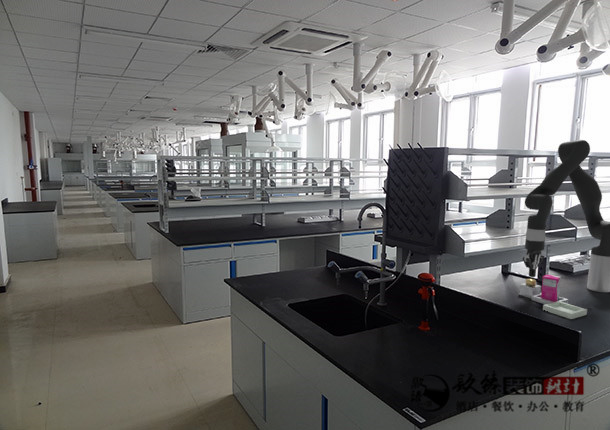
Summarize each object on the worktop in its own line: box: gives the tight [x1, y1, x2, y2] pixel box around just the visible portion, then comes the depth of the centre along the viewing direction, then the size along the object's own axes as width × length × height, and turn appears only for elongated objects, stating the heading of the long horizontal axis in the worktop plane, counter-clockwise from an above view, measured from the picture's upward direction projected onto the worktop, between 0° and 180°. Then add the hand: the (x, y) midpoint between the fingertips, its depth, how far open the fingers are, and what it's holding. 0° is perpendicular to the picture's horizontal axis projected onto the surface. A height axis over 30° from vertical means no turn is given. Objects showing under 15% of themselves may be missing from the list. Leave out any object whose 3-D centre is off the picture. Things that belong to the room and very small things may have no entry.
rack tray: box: [542, 301, 588, 320], centre depth 162 cm, size 11×11×2 cm
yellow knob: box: [525, 278, 537, 286], centre depth 181 cm, size 4×4×6 cm
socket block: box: [518, 282, 570, 305], centre depth 177 cm, size 10×17×5 cm, turn 28°
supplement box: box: [541, 273, 562, 302], centre depth 173 cm, size 6×6×12 cm
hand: (531, 276), depth 180 cm, fingers closed
